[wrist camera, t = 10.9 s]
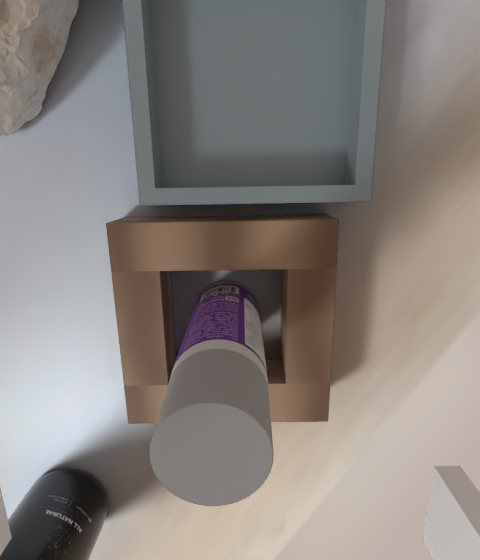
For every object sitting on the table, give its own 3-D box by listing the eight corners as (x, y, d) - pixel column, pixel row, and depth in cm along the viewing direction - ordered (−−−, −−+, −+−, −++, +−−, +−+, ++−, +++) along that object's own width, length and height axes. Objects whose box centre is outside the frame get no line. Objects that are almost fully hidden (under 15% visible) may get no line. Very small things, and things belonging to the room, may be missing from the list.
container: (185, 325, 28) (126, 483, 14) (210, 270, 27) (174, 379, 13) (242, 349, 29) (243, 526, 14) (269, 296, 28) (299, 429, 13)
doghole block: (141, 395, 30) (128, 423, 26) (123, 217, 26) (106, 223, 23) (318, 393, 30) (328, 421, 26) (326, 214, 26) (338, 219, 22)
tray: (151, 202, 26) (139, 205, 23) (132, -42, 22) (115, -75, 19) (356, 198, 26) (370, 201, 23) (371, -47, 22) (391, -81, 19)
